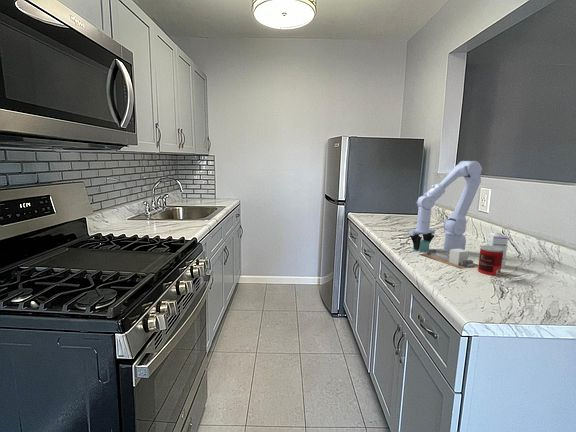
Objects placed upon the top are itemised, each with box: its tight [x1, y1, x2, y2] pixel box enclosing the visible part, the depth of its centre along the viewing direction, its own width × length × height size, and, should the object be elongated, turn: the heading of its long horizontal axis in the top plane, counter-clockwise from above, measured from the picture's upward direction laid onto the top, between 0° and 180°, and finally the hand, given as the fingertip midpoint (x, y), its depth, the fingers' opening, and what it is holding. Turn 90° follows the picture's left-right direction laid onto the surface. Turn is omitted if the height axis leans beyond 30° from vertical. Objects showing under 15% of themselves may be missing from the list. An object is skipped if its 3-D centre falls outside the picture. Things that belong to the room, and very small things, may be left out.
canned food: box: [477, 244, 503, 277], centre depth 133 cm, size 8×8×11 cm
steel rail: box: [425, 248, 474, 268], centre depth 149 cm, size 4×21×2 cm, turn 26°
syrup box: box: [487, 232, 509, 269], centre depth 142 cm, size 6×6×14 cm
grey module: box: [448, 248, 469, 265], centre depth 144 cm, size 6×4×6 cm
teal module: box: [412, 238, 431, 253], centre depth 165 cm, size 6×4×6 cm
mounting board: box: [418, 251, 478, 270], centre depth 149 cm, size 12×22×1 cm, turn 26°
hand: (420, 249), depth 165 cm, fingers closed on teal module, 6 cm apart
